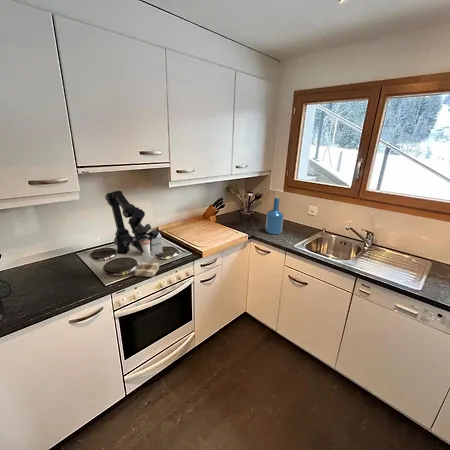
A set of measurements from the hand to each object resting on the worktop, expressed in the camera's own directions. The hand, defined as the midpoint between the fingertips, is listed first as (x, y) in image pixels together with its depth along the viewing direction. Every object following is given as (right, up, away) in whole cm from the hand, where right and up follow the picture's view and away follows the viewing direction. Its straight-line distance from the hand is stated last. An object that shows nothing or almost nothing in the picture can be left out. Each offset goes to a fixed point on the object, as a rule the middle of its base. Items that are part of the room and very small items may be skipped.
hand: (147, 251), depth 139 cm
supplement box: (-3, -4, +29) cm, 30 cm away
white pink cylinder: (-1, -5, +3) cm, 6 cm away
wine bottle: (+82, +8, +72) cm, 110 cm away
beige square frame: (-1, -12, +5) cm, 13 cm away
